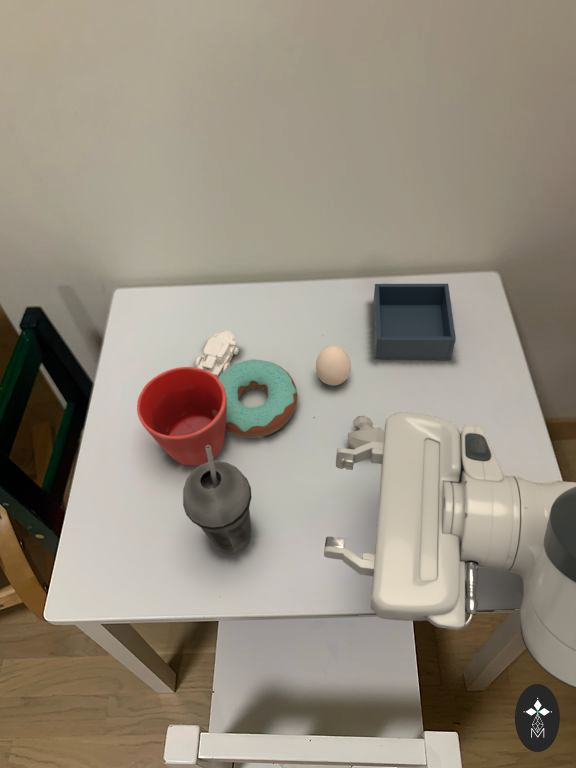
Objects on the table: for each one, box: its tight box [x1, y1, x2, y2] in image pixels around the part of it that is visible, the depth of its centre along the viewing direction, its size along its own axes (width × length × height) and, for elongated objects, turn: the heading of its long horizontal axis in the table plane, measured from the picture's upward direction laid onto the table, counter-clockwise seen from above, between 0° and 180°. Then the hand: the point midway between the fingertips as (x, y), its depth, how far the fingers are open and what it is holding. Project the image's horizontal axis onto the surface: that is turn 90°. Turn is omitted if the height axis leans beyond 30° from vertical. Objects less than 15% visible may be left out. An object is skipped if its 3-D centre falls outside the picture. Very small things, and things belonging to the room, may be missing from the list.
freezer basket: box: [372, 283, 457, 361], centre depth 86 cm, size 11×11×5 cm
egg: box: [315, 344, 352, 386], centre depth 81 cm, size 5×5×7 cm
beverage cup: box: [182, 445, 252, 555], centre depth 64 cm, size 7×7×20 cm
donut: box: [212, 358, 298, 439], centre depth 81 cm, size 12×12×4 cm
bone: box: [347, 415, 385, 450], centre depth 75 cm, size 18×5×4 cm, turn 71°
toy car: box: [195, 330, 240, 378], centre depth 86 cm, size 5×8×4 cm, turn 162°
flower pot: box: [136, 366, 227, 467], centre depth 76 cm, size 11×11×10 cm
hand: (330, 500), depth 58 cm, fingers open, 8 cm apart
